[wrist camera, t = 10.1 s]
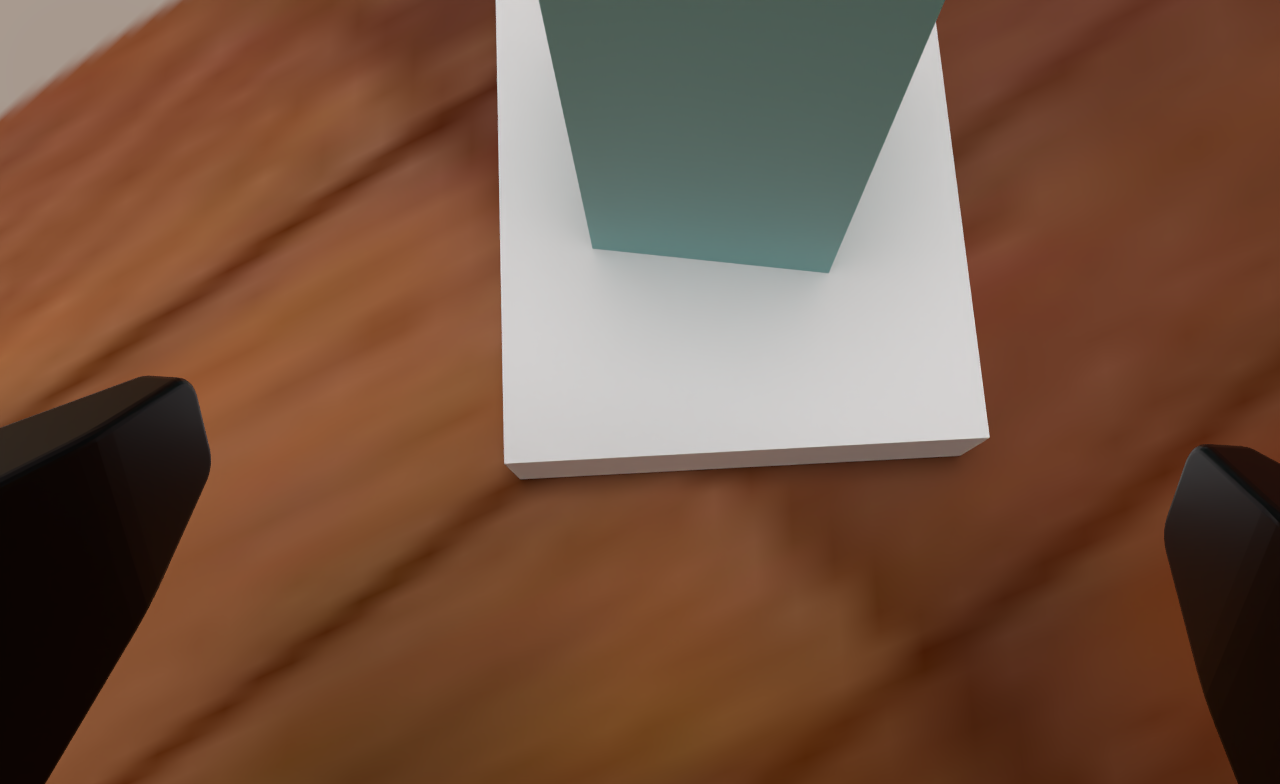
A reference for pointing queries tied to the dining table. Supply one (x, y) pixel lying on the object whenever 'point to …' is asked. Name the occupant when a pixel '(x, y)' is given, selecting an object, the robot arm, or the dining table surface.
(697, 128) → the teal block
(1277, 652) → the robot arm
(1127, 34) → the dining table surface
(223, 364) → the dining table surface
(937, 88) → the base slab
